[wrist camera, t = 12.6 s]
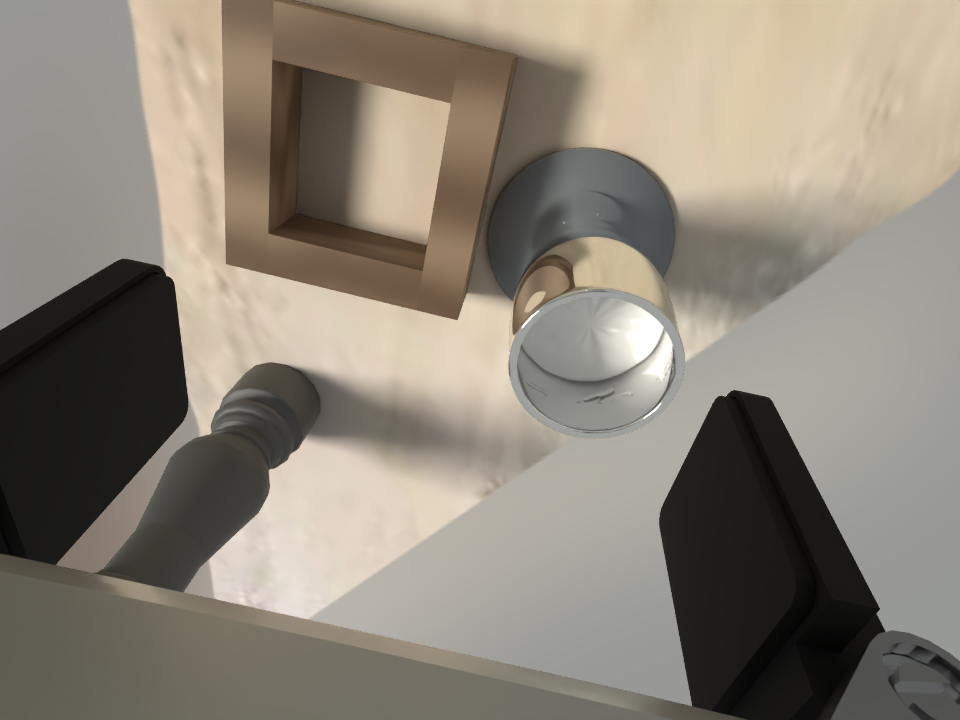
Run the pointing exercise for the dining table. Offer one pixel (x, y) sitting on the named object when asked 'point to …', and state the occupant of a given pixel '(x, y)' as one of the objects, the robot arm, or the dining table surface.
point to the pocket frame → (275, 146)
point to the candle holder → (218, 478)
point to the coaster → (568, 176)
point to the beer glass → (592, 324)
